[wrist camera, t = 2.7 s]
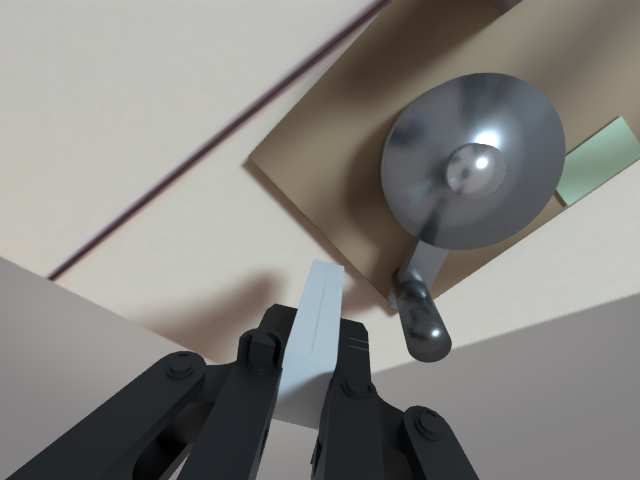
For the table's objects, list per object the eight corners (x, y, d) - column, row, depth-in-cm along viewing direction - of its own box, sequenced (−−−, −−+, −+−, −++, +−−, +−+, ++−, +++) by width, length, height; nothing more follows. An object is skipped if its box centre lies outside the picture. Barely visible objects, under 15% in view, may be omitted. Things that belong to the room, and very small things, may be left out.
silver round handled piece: (412, 58, 15) (451, 14, 9) (567, 108, 15) (709, 96, 9) (336, 272, 20) (329, 339, 13) (458, 311, 20) (505, 393, 14)
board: (253, 154, 19) (171, 178, 10) (533, -146, 13) (847, -621, 5) (403, 310, 21) (435, 431, 13) (688, 112, 16) (1071, 96, 7)
